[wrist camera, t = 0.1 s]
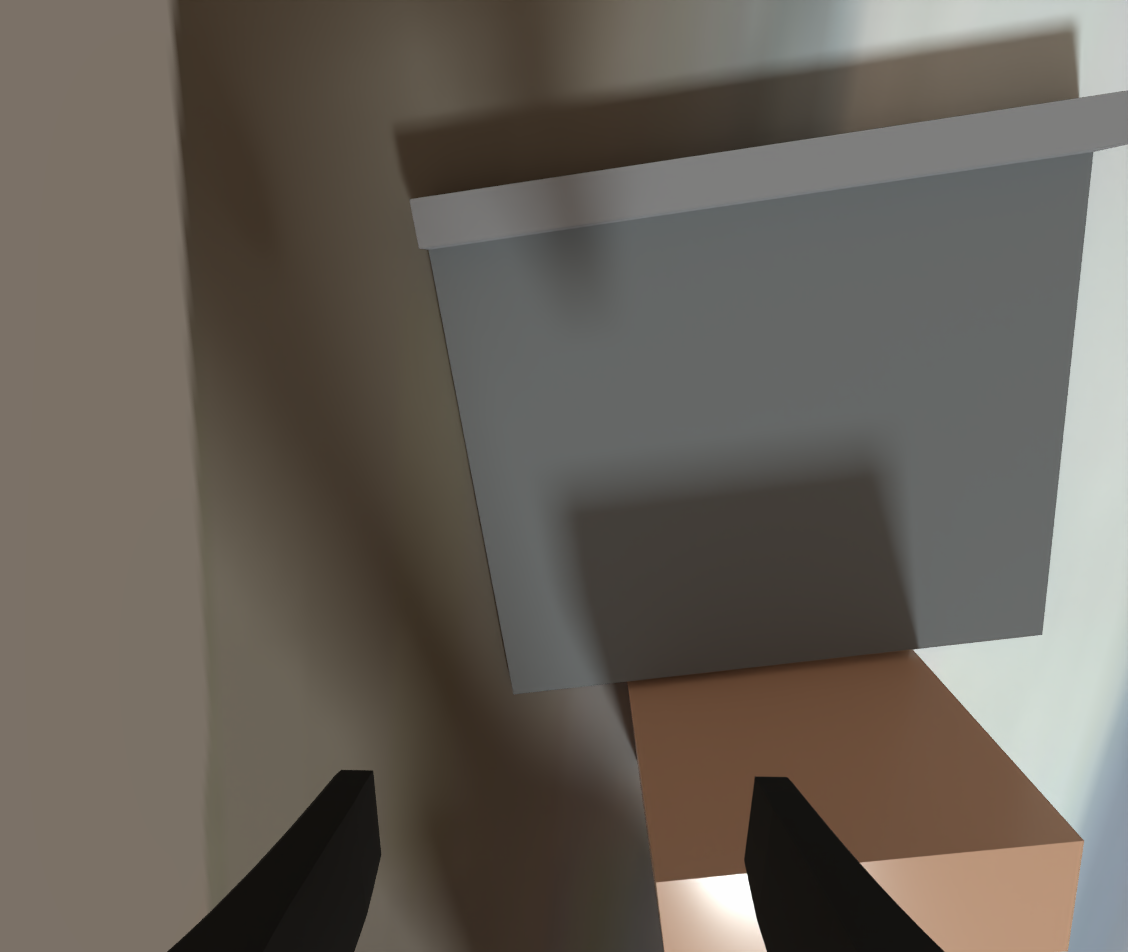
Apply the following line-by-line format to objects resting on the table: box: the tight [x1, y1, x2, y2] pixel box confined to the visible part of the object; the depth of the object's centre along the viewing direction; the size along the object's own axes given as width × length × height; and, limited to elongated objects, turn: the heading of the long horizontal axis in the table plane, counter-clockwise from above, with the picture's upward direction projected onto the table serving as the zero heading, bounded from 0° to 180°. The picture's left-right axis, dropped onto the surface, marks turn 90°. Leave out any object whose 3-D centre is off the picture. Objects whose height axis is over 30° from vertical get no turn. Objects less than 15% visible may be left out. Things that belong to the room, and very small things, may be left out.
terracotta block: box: [627, 649, 1084, 952], centre depth 20 cm, size 4×10×8 cm, turn 98°
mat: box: [409, 91, 1128, 694], centre depth 19 cm, size 16×18×2 cm
